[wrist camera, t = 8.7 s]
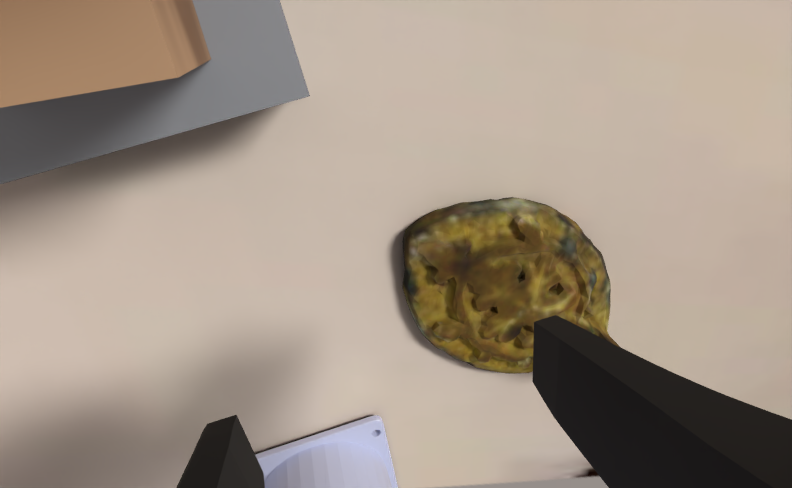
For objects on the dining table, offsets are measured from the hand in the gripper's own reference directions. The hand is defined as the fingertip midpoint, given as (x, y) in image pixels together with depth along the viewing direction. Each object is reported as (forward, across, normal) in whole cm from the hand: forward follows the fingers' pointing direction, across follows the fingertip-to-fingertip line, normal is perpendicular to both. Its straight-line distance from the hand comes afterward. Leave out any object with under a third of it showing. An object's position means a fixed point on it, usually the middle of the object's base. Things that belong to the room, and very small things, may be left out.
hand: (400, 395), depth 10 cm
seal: (+10, -8, +6) cm, 14 cm away
